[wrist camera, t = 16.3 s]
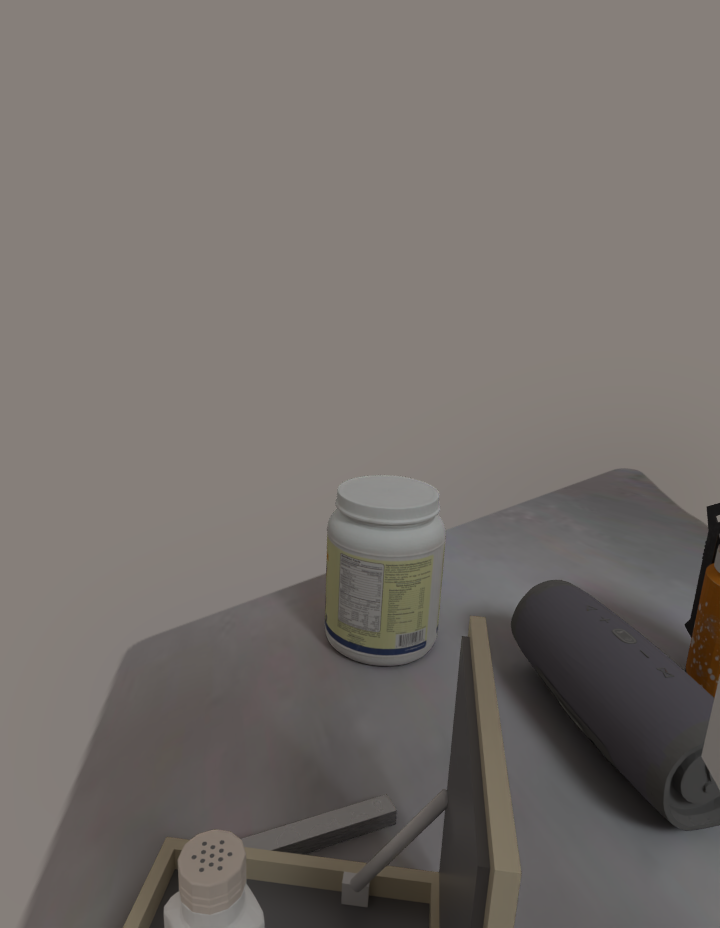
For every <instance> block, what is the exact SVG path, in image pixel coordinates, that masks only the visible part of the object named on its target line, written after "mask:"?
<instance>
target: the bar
mask: <svg viewBox="0 0 720 928" xmlns="http://www.w3.org/2000/svg"><path fill="white" fill-rule="evenodd" d="M396 814H397V810H396V808H395V807H394V805H393V803H392V802H391V800H390V798H389V797H388V795H387V794H385V795H382V796H379V797H376V798H372V799H369V800H366V801H362V802H359V803H356V804H353V805H349V806H346V807H343V808H340V809H336V810H333V811H330V812H327V813H323V814H320V815H317V816H313V817H310V818H307V819H304V820H300V821H297V822H294V823H291V824H287V825H284V826H281V827H278V828H274V829H271V830H268V831H264V832H261V833H258V834H255V835H251V836H248V837H245V838H242V839H241V840H242V842H243V845H244V847H248V848H256V849H264V850H271V851H279V852H287V853H294V854H302V855H304V854H307V853H310V852H313V851H316V850H319V849H322V848H325V847H328V846H331V845H334V844H337V843H340V842H343V841H346V840H349V839H352V838H355V837H358V836H361V835H364V834H367V833H370V832H373V831H376V830H379V829H382V828H386V827H389V826H392V825H395V824H396Z"/></svg>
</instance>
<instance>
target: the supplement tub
mask: <svg viewBox="0 0 720 928" xmlns="http://www.w3.org/2000/svg"><path fill="white" fill-rule="evenodd" d="M336 507H337V509H336V510H335V511H334V512H333V514H332V515H331V517H330V519H329V522H328V527H327V568H326V569H327V570H326V606H325V622H324V626H325V632H326V636H327V639H328V641H329V642H330V644H331V645H332V646H333V647H334V648H335V649H336V650H337V651H338V652H340V653H341V654H343V655H344V656H346V657H348V658H350V659H352V660H355V661H358V662H361V663H365V664H369V665H377V666H396V665H403V664H407V663H410V662H413V661H415V660H417V659H419V658H421V657H422V656H424V655H425V654H426V653H427V652H428V651H429V650H430V649H431V648H432V646H433V645H434V643H435V640H436V637H437V634H438V620H439V609H440V597H441V586H442V574H443V562H444V550H445V540H446V531H445V526H444V523H443V521H442V519H441V518H440V517H439V516H438V513H439V512H440V505H439V492H438V490H437V489H436V488H435V487H433V486H432V485H430V484H427V483H425V482H422V481H419V480H416V479H412V478H407V477H400V476H389V475H373V476H362V477H357V478H353V479H350V480H347V481H345V482H343V483H342V484H340V485H339V487H338V492H337V499H336Z"/></svg>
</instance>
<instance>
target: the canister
mask: <svg viewBox="0 0 720 928" xmlns="http://www.w3.org/2000/svg"><path fill="white" fill-rule="evenodd" d="M718 515H720V503H718V504H714V505H711V506H708V507H707V516H708V529H709V531H708V536H707V541H706V542H705V543H706V545H705V549H704V553H703V555H704V556H703V557H702V559H703V560H702V565H701V570H700V575H699V580H698V585H697V589H696V594H695V599H694V604H693V609H692V614H691V618H690V620H689V621H688V622H687V623H686V624H685V627H686V629H687V631H688V632H689V634H690V636H691V638H692V639H691V644H690V648H689V653H688V658H687V663H686V669H685V672H686V673H687V674H688V675H689V676H691V677H692V678H693V679H694V680H695V681H696V682H697V683H698V684H699V685H701V686H702V687H703V688H704V689H705V690H706V691H707V692H708V693H709V694H710V695H711V696H713V697H714V698H715V694H716V689H717V685H718V680H719V676H720V522H718V521H717V518H716V516H718Z"/></svg>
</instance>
